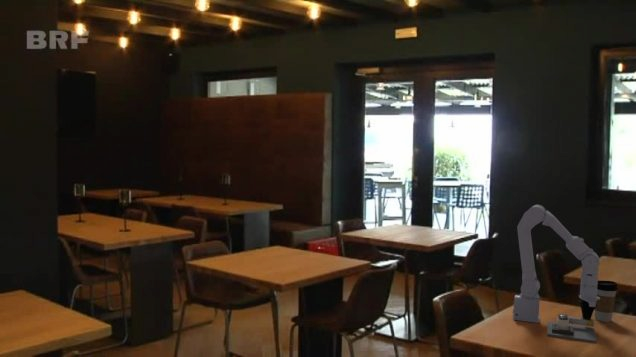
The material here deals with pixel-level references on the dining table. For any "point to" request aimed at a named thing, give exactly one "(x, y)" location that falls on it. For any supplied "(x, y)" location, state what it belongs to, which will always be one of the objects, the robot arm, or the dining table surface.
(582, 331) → the panel
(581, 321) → the clip
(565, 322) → the plug
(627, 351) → the dining table surface
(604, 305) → the coffee cup
